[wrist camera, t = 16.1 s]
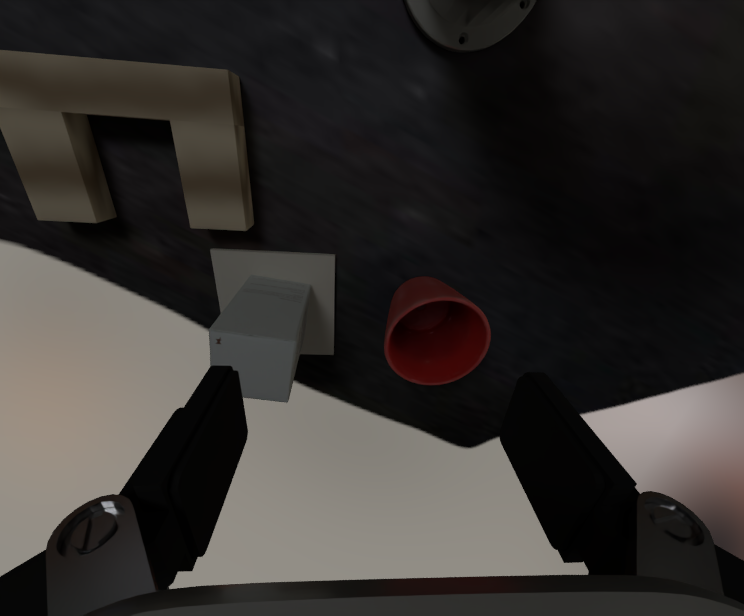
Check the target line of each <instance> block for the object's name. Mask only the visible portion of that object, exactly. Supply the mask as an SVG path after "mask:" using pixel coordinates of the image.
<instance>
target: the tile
mask: <svg viewBox="0 0 744 616" xmlns="http://www.w3.org/2000/svg"><path fill="white" fill-rule="evenodd" d="M210 252H211V258H212V264H213V269H214V275H215V281H216V287H217V293H218V299H219V305H220V310H221V313H222V312H223V311H224V309H225V308H226V307H227V305H228V304H229V303H230V302H231V300H232V299H233V298H234V296H235V295H236V294H237V292H238V291H239V290H240V289H241V287H242V286H243V285H244V283H245V282H246V281H247V279H248V278H249V277H250V276H251V275H257V276H263V277H269V278H275V279H281V280H287V281H294V282H300V283H305V284H310V285H311V291H310V299H309V307H308V315H307V322H306V330H305V337H304V341H303V344H302V348H301V352H300V354H315V355H334V305H335V254H319V253H298V252H277V251H256V250H235V249H215V248H212V249H211V250H210Z"/></svg>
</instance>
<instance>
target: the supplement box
mask: <svg viewBox="0 0 744 616" xmlns="http://www.w3.org/2000/svg"><path fill="white" fill-rule="evenodd" d="M310 291H311V285H310V284H305V283H300V282H294V281H287V280H281V279H275V278H269V277H263V276H257V275H251V276H250V277H249V278H248V279H247V281H246V282H245V283H244V285H243V286H242V287H241V289H240V290H239V291H238V292H237V294H236V295H235V296H234V298H233V299H232V300H231V302H230V303H229V304H228V305H227V307H226V308H225V309H224V311H223V312H222V313H221V314H220V316H219V317H218V318H217V320H216V321H215V322H214V324H213V325H212V326H211V327H210V329H209V339H210V365H211V366H213V365H219V366H232V368H233V370H237V371H238V373H239V378H240V385H241V391H242V397H244V398H253V399H261V400H270V401H279V402H288V400H289V396H290V392H291V388H292V384H293V380H294V376H295V371H296V367H297V363H298V359H299V356H300V352H301V348H302V344H303V341H304V337H305V330H306V322H307V315H308V307H309V299H310Z"/></svg>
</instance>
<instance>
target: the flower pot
mask: <svg viewBox="0 0 744 616" xmlns="http://www.w3.org/2000/svg"><path fill="white" fill-rule="evenodd" d="M490 338H491V332H490V326H489V323H488V320H487V318H486V316H485V315H484V313H483V312H482V311H481V310H480V309H479V308H478V307H477V306H476V305H475V304H474V303H472V302H471V301H470V300H468V299H467V298H465V297H464V296H463V295H461V294H460V293H458V292H457V291H455V290H454V289H452V288H451V287H449V286H448V285H446V284H444V283H443V282H441V281H439V280H438V279H435V278H432V277H425V276H423V277H416V278H412V279H410V280H408V281H406V282H405V283H403V284H402V285H401V286H400V287H399V288H398V289H397V290H396V292H395V294H394V295H393V298H392V302H391V306H390V310H389V315H388V320H387V326H386V332H385V341H384V352H385V357H386V359H387V362H388V364H389V365H390V367H391V368H392V369H393V370H394V371H395V372H396V373H397V374H398V375H399V376H401V377H402V378H404V379H406V380H408V381H410V382H413V383H417V384H422V385H441V384H446V383H450V382H453V381H455V380H458V379H460V378H462V377H463V376H465V375H466V374H468V373H469V372H471V371H472V370H473V369H474V368H475V367H477V366H478V364H479V363H480V362H481V361H482V359H483V358H484V356H485V354H486V353H487V350H488V348H489V344H490Z"/></svg>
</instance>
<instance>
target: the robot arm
mask: <svg viewBox="0 0 744 616" xmlns="http://www.w3.org/2000/svg"><path fill="white" fill-rule="evenodd" d="M404 2H405V5H406V8H407V10H408V13H409V15H410V16H411V18H412V20H413V21H414V23H415V25H416V26H417V28H418V29H419V30H420V31H421V32H422V33H423V34H424V36H425V37H426V38H428V39H429V40H430V41H432V42H433V43H434V44H436V45H437V46H439V47H441V48H444V49H446V50H449V51H453V52H460V53H467V52H476V51H479V50H482V49H485V48H488V47H490V46H492V45H493V44H495V43H497V42H499V41H500V40H502V39H503V38H504V37H506V36H507V35H508V34H510V33H511V32H512V31H513V30H514V29H515V28H516V27H517V26H518V25H519V24H520V23H521V22H522V21H523V20H524V18H525V17H526V16H527V15H528V13H529V12H530V11H531V9H532V8H533V6H534V4H535V2H536V0H404ZM520 3H521V4H522V9H521V7H520ZM459 38H462V39H463V44H460V43H459ZM247 434H248V429H247V423H246V416H245V410H244V405H243V397H242V391H241V385H240V378H239V373H238V371H237V370H233V368H232V366H219V365H213V366H211V367H210V368H209V370H208V371H207V373H206V374H205V376H204V377H203V379H202V380H201V382H200V384H199V385H198V387H197V388H196V390H195V391H194V393H193V394H192V396H191V397H190V399H189V400H188V402H187V403H186V405H185V407H184V408H179V409H177V410H176V411H175V412H174V413H173V415H172V416H171V418H170V419H169V421H168V422H167V424H166V425H165V427H164V428H163V430H162V431H161V433H160V434H159V436H158V437H157V439H156V440H155V441H154V443H153V444H152V446H151V448H150V449H149V450H148V452H147V453H146V455H145V456H144V458H143V459H142V461H141V462H140V464H139V465H138V467H137V468H136V470H135V471H134V473H133V474H132V476H131V477H130V479H129V480H128V482H127V483H126V484H125V486H124V488H123V489H122V491H121V492H120V494H119V495H114V494H112V495H107V496H101V497H99V498H96V499H94V500H91V501H89V502H87V503H85V504H84V505H82V506H80V507H79V508H77V509H76V510H74V511H73V512H72V513H71V514H69V515H68V516H67V517H66V518H65V519H63V521H62V522H61V523H60V524H59V525H58V526H57V528H56V529H55V530H54V531H53V533H52V535H51V537H50V539H49V541H48V543H47V548H46V550H44V551H43V552H41V553H39V554H38V555H36V556H34V557H33V558H31V559H29V560H27V561H26V562H24V563H23V564H21V565H19V566H17V567H16V568H14V569H12V570H11V571H9V572H8V573H6V574H4V575H2V576H1V577H0V616H744V561H743V560H741V559H739V558H738V557H736V556H734V555H732V554H731V553H729V552H727V551H725V550H723V549H722V548H720V547H718V546H717V545H715V544H714V542H713V539H712V536H711V534H710V531H709V530H708V529H707V527H706V526H705V524H704V523H703V522H702V521H701V520H700V519H699V518H698V517H697V516H696V515H695V514H694V513H693V512H692V511H691V510H689V509H688V508H687V507H686V506H684V505H683V504H681V503H680V502H678V501H676V500H675V499H673V498H671V497H669V496H666V495H664V494H661V493H657V492H652V491H648V492H643V493H641V494H640V493H639V492H638V491H637V490H636V488H635V486H636V482H635V481H634V480H633V479H632V478H631V476H630V475H629V474H628V473H627V471H626V470H625V469H624V468H623V467H622V465H621V464H620V463H619V462H618V461H617V459H616V458H615V457H614V456H613V455H612V453H611V452H610V451H609V450H608V449H607V447H606V446H605V445H604V444H603V443H602V441H601V440H600V439H599V438H598V437H597V436H596V434H595V433H594V432H593V430H592V429H591V428H590V427H589V426H588V424H587V423H586V422H585V421H584V420H583V418H582V417H581V416H580V415H579V414H578V412H577V411H576V410H575V409H574V408H573V406H572V405H571V404H570V403H569V401H568V400H567V399H566V398H565V397H564V395H563V394H562V393H561V392H560V391H559V389H558V388H557V387H556V386H555V385H554V383H553V382H552V381H551V380H550V379H549V377H548V376H547V375H546V374H545V373H531V372H527V373H525V374H524V375H523V377H520V378H519V379H518V381H517V384H516V387H515V390H514V393H513V396H512V398H511V401H510V404H509V407H508V410H507V413H506V416H505V419H504V421H503V424H502V427H501V430H500V441H501V444H502V446H503V448H504V450H505V452H506V454H507V456H508V458H509V460H510V462H511V464H512V467H513V468H514V470H515V472H516V475H517V477H518V479H519V481H520V483H521V485H522V487H523V489H524V491H525V493H526V495H527V497H528V499H529V501H530V503H531V505H532V507H533V509H534V511H535V513H536V515H537V518H538V520H539V522H540V524H541V526H542V528H543V530H544V532H545V534H546V536H547V538H548V540H549V542H550V544H551V546H552V547H553V548H554V549H556V550H558V552H559V554H560V555H561V557H562V559H563V561H564V563H572V562H583V561H584V563H585V565H586V567H587V568H588V570H589V573H588V575H542V576H541V575H540V576H488V577H447V578H407V579H369V580H337V581H304V582H271V583H250V584H230V585H212V586H196V587H187V588H177V589H169V587H168V586H170V585H171V584H172V583H173V582H174V579H175V577H176V574H177V572H178V571H192V570H193V568H194V565H195V562H196V560H197V557H202V556H203V555H204V554H205V552H206V550H207V547H208V545H209V542H210V539H211V536H212V533H213V531H214V528H215V525H216V523H217V520H218V517H219V515H220V512H221V509H222V506H223V504H224V501H225V498H226V495H227V493H228V490H229V487H230V484H231V482H232V478H233V476H234V474H235V470H236V468H237V465H238V462H239V460H240V457H241V454H242V451H243V449H244V446H245V443H246V440H247Z"/></svg>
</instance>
